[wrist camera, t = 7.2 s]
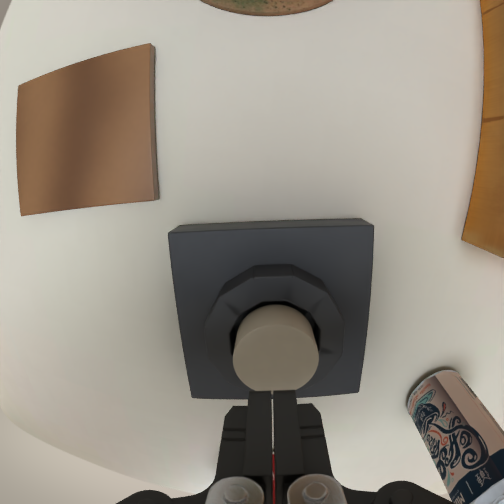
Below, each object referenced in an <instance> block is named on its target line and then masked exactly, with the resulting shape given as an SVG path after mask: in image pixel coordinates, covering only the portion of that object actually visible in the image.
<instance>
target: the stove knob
mask: <svg viewBox="0 0 504 504" xmlns="http://www.w3.org/2000/svg"><path fill="white" fill-rule="evenodd" d="M318 362H319V353H318V349H317V345H316V341H315V338H314V334H313V330H312V327H311V325H310V323H309V321H308V320H307V318H306V317H305V316H304V315H303V314H302V313H301V312H299V311H298V310H296V309H294V308H292V307H289V306H285V305H267V306H263V307H260V308H257V309H255V310H254V311H252V312H251V313H249V314H248V315H247V316H246V317H245V318H244V319H243V321H242V322H241V324H240V326H239V328H238V331H237V336H236V342H235V348H234V353H233V366H234V369H235V372H236V374H237V376H238V377H239V379H240V380H241V381H242V382H243V383H244V384H245V385H247V386H248V387H250V388H251V389H253V390H255V391H270V390H271V394H273V390H294V389H295V390H297V389H298V388H300V387H302V386H303V385H305V384H306V383H307V382H308V381H309V380H310V379H311V378H312V376H313V375H314V373H315V371H316V369H317V366H318Z"/></svg>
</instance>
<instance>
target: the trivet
mask: <svg viewBox="0 0 504 504" xmlns="http://www.w3.org/2000/svg"><path fill="white" fill-rule="evenodd" d="M154 57H155V48H154V46H153V45H152V44H151V43H149V44H144V45H140V46H135V47H131V48H127V49H123V50H119V51H115V52H111V53H108V54H104V55H101V56H97V57H94V58H91V59H87V60H84V61H81V62H78V63H75V64H72V65H69V66H66V67H64V68H61V69H58V70H55V71H53V72H50V73H47V74H45V75H42V76H40V77H37V78H35V79H33V80H30V81H28V82H26V83H23V84H21V85H19V86H18V98H17V119H16V158H17V179H18V192H19V203H20V213H21V216H26V215H33V214H40V213H47V212H54V211H62V210H70V209H78V208H86V207H95V206H104V205H113V204H123V203H133V202H144V201H154V200H158V199H159V192H158V178H157V161H156V140H155V107H154Z"/></svg>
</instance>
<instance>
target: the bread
mask: <svg viewBox="0 0 504 504" xmlns="http://www.w3.org/2000/svg"><path fill="white" fill-rule="evenodd" d="M480 3H481V12H482V23H483V38H484V100H483V115H482V127H481V137H480V146H479V154H478V161H477V167H476V174H475V180H474V185H473V191H472V196H471V201H470V206H469V210H468V215H467V219H466V223H465V228H464V232H463V236H462V240H463V241H465V242H468V243H470V244H472V245H475V246H477V247H479V248H482V249H484V250H486V251H488V252H491V253H493V254H495V255H497V256H500V257H502V258H504V0H480Z"/></svg>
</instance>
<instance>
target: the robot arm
mask: <svg viewBox="0 0 504 504" xmlns="http://www.w3.org/2000/svg"><path fill="white" fill-rule="evenodd" d="M273 413H274V461H275V504H455V503H453V502H451V501H449V500H447V499H445V498H442V497H440V496H438V495H436V494H434V493H432V492H430V491H428V490H426V489H424V488H422V487H420V486H418V485H416V484H414V483H412V482H408V481H395V482H391V483H388V484H386V485H384V486H383V487H382V488H380V489H379V490H378V492H367V491H357V490H352V489H348V488H346V487H344V486H342V485H341V484H340V483H339V482H338V481H337V480H336V479H335V478H334V476H333V474H332V470H331V465H330V459H329V454H328V449H327V444H326V439H325V434H324V429H323V424H322V419H321V414H320V412H319V411H318V410H317V409H316V408H315V406H314V405H313V404H312V403H309V404H297V400H296V392H295V389H294V390H273ZM116 504H273V460H272V408H271V390H270V391H249V396H248V406H233V407H232V408H231V409H230V410H229V412H228V413H227V414H226V416H225V419H224V425H223V432H222V440H221V444H220V451H219V457H218V463H217V470H216V476H215V479H214V481H213V483H212V484H211V485H210V486H209V487H208V488H207V489H206V490H204V491H203V492H201V493H198V494H196V495H192V496H186V497H180V498H172V499H171V498H170V497H169V496H167V495H166V494H164V493H162V492H159V491H154V490H144V491H140V492H137V493H134V494H132V495H131V496H129V497H127V498H125V499H124V500H122V501H120V502H118V503H116Z"/></svg>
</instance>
